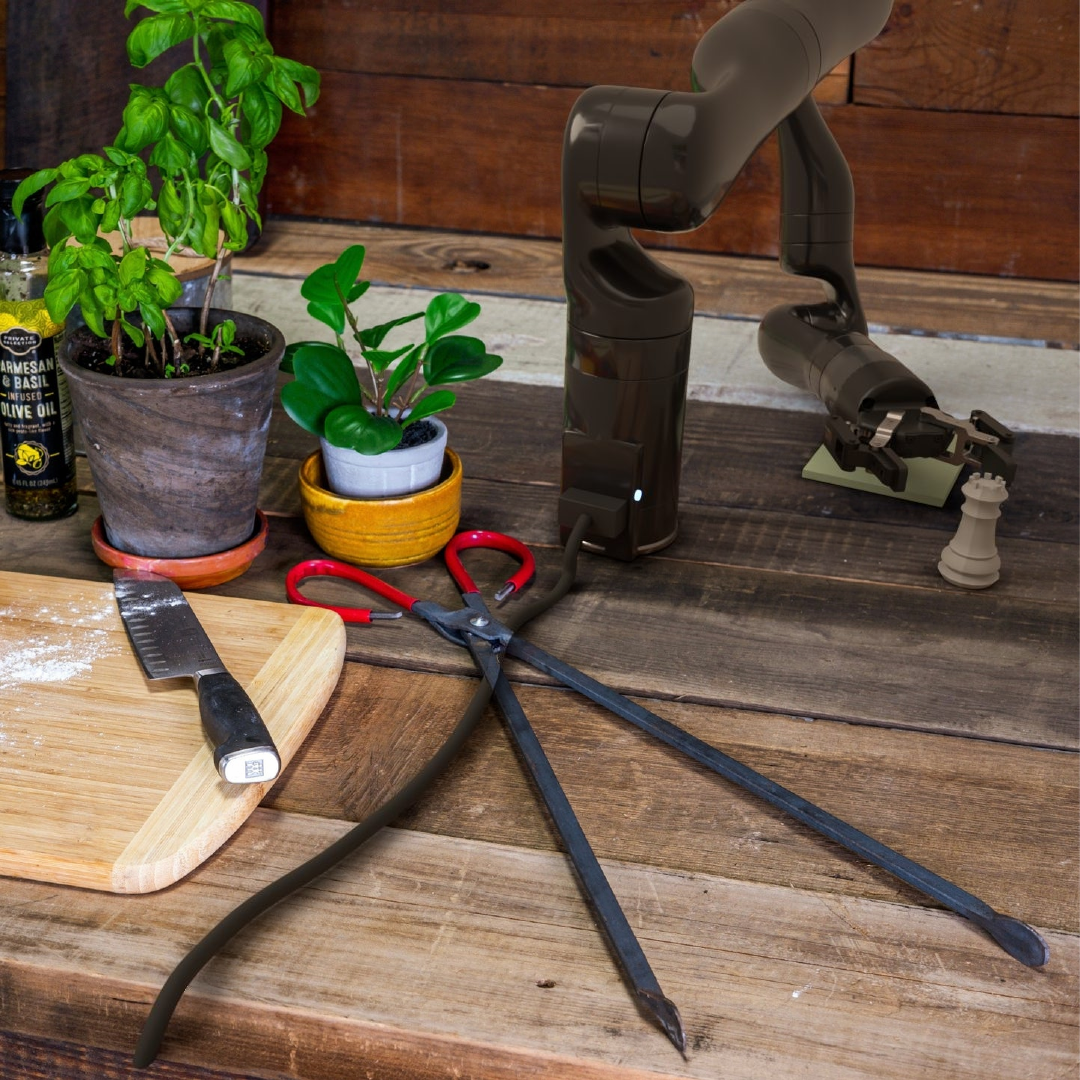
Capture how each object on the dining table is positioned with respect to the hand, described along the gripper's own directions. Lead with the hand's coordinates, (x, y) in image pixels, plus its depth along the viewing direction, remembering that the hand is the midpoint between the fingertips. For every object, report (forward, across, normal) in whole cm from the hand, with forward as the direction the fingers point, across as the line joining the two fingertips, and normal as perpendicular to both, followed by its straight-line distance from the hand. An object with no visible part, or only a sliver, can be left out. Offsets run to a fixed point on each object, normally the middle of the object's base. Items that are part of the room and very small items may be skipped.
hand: (956, 478), depth 95 cm
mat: (-17, +3, +6) cm, 18 cm away
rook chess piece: (+4, 0, +6) cm, 8 cm away
